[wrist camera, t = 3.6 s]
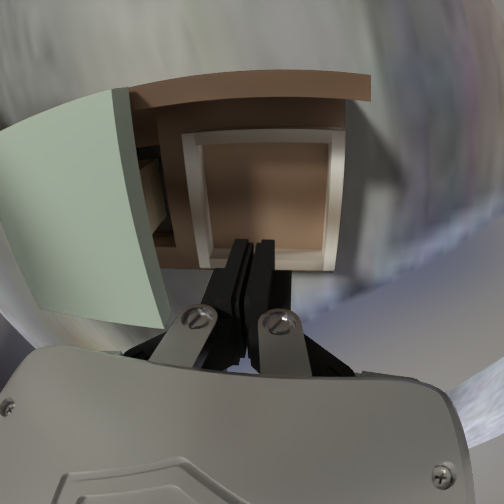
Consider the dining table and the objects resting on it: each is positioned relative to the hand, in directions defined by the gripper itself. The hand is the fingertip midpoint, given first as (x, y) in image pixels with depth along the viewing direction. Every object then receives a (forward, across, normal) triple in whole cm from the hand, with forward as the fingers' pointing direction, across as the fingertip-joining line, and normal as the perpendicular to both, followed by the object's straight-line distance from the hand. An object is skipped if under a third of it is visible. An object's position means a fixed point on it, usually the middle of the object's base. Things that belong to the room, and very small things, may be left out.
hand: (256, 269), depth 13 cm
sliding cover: (+2, +11, -2) cm, 11 cm away
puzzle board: (+10, +12, 0) cm, 16 cm away
